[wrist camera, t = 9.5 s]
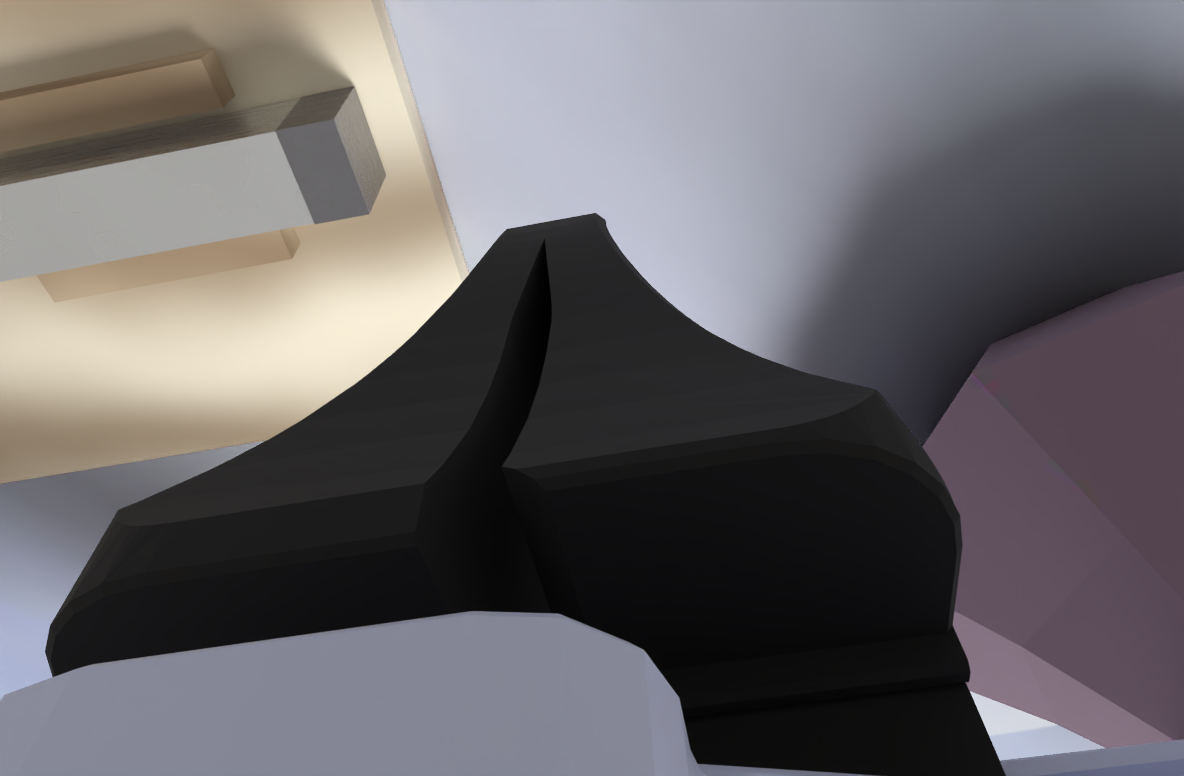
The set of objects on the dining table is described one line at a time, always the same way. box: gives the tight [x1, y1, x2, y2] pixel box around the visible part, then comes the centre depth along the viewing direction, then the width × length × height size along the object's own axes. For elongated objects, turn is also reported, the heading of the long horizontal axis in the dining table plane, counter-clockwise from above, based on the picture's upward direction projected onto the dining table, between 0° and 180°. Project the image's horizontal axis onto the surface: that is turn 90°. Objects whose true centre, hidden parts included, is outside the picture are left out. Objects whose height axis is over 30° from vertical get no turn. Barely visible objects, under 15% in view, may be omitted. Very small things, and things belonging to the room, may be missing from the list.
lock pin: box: [0, 86, 386, 282], centre depth 18 cm, size 2×11×2 cm, turn 101°
